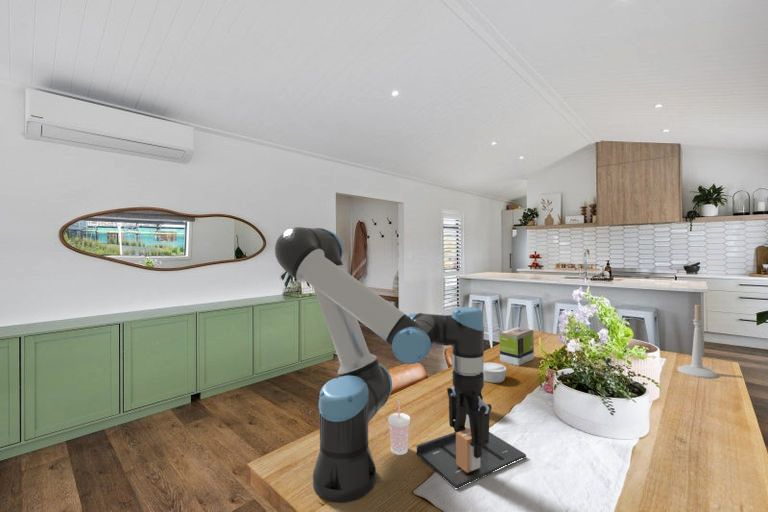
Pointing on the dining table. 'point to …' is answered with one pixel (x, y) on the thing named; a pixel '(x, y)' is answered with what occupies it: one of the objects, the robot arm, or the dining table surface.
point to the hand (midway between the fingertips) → (468, 463)
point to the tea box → (516, 345)
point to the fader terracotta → (463, 449)
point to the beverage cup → (399, 432)
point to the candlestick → (697, 352)
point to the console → (444, 458)
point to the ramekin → (494, 372)
